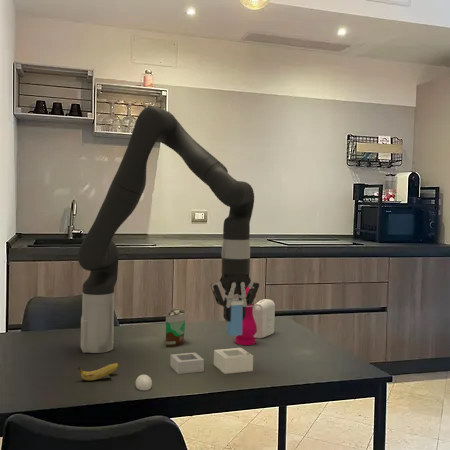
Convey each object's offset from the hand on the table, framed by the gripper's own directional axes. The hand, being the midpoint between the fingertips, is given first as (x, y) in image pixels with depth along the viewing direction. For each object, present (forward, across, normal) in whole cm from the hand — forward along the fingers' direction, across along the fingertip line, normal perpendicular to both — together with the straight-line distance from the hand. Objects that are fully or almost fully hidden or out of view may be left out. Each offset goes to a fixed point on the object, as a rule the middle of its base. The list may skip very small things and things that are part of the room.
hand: (234, 320), depth 141 cm
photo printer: (+14, +25, +32) cm, 43 cm away
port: (+14, 0, 0) cm, 14 cm away
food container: (+14, -6, +31) cm, 35 cm away
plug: (+4, 0, 0) cm, 4 cm away
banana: (+14, -35, +4) cm, 38 cm away
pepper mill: (+14, +15, +25) cm, 32 cm away
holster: (+14, -12, +3) cm, 19 cm away
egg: (+14, -26, -7) cm, 31 cm away
